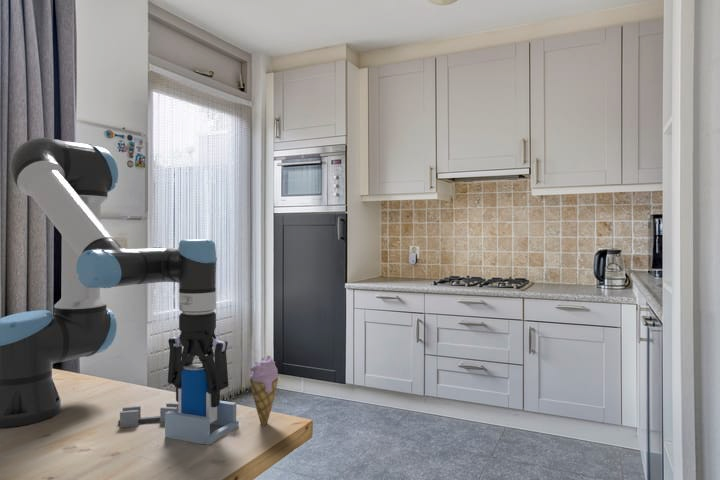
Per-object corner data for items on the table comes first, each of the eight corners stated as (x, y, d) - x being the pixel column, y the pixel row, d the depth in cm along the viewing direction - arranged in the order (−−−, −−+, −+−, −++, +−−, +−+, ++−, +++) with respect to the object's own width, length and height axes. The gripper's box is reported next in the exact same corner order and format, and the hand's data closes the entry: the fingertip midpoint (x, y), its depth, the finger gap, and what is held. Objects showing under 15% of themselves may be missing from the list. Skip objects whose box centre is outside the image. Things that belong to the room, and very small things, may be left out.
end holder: (165, 437, 101) (165, 413, 101) (197, 419, 111) (197, 397, 111) (208, 445, 98) (208, 420, 98) (238, 425, 107) (238, 403, 107)
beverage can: (203, 428, 101) (203, 370, 101) (175, 425, 102) (175, 368, 102) (218, 417, 107) (218, 362, 107) (191, 414, 109) (191, 360, 108)
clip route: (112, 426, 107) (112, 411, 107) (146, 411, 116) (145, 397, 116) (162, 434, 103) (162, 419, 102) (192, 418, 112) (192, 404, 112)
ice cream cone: (285, 424, 108) (285, 356, 108) (261, 432, 104) (261, 362, 104) (266, 416, 113) (266, 351, 113) (243, 424, 108) (243, 356, 108)
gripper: (148, 311, 104) (148, 419, 105) (225, 317, 98) (225, 432, 98) (173, 306, 111) (173, 407, 112) (246, 311, 105) (246, 419, 105)
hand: (197, 419), depth 105 cm, fingers closed on beverage can, 6 cm apart
